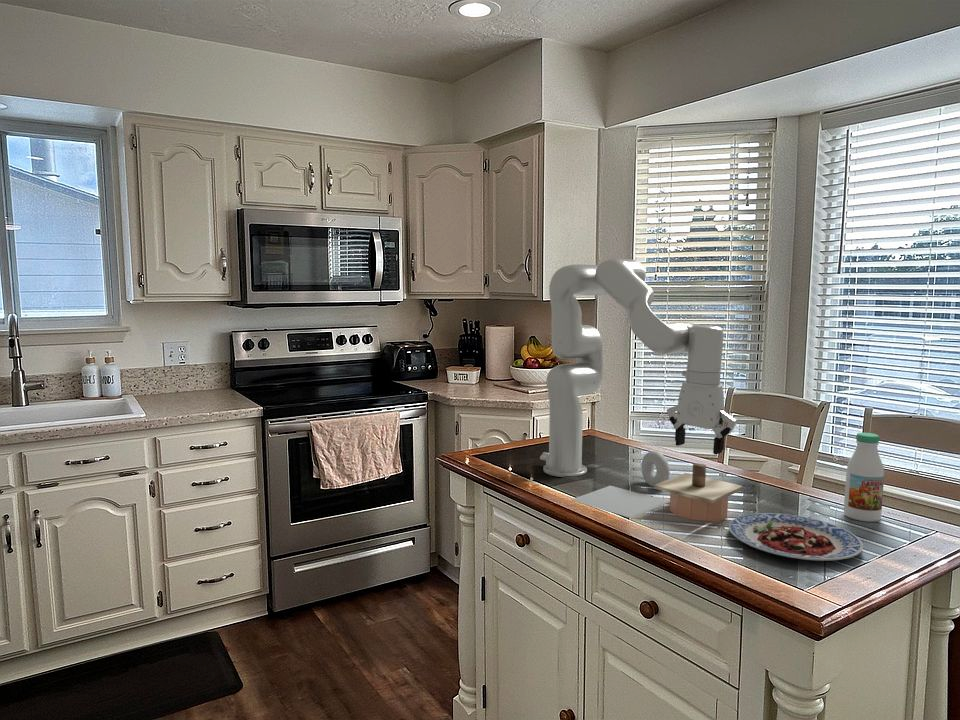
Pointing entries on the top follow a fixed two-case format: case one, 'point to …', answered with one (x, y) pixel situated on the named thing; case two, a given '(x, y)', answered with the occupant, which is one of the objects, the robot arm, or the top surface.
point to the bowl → (698, 508)
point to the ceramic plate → (796, 536)
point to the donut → (648, 468)
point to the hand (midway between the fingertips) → (698, 449)
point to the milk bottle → (864, 480)
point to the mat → (620, 501)
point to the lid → (699, 486)
